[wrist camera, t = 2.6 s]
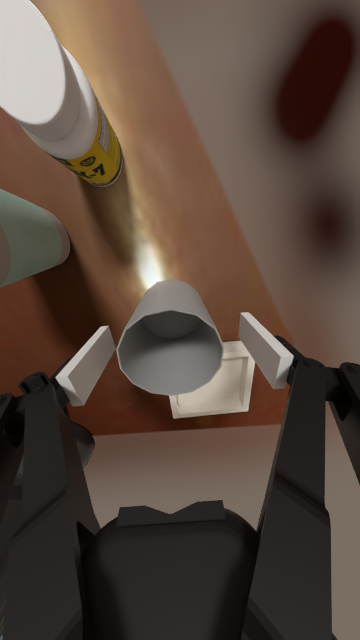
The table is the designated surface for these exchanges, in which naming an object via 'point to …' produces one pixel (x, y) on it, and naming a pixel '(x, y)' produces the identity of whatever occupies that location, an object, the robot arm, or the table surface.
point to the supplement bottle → (54, 96)
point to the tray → (220, 387)
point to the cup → (170, 341)
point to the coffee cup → (28, 239)
